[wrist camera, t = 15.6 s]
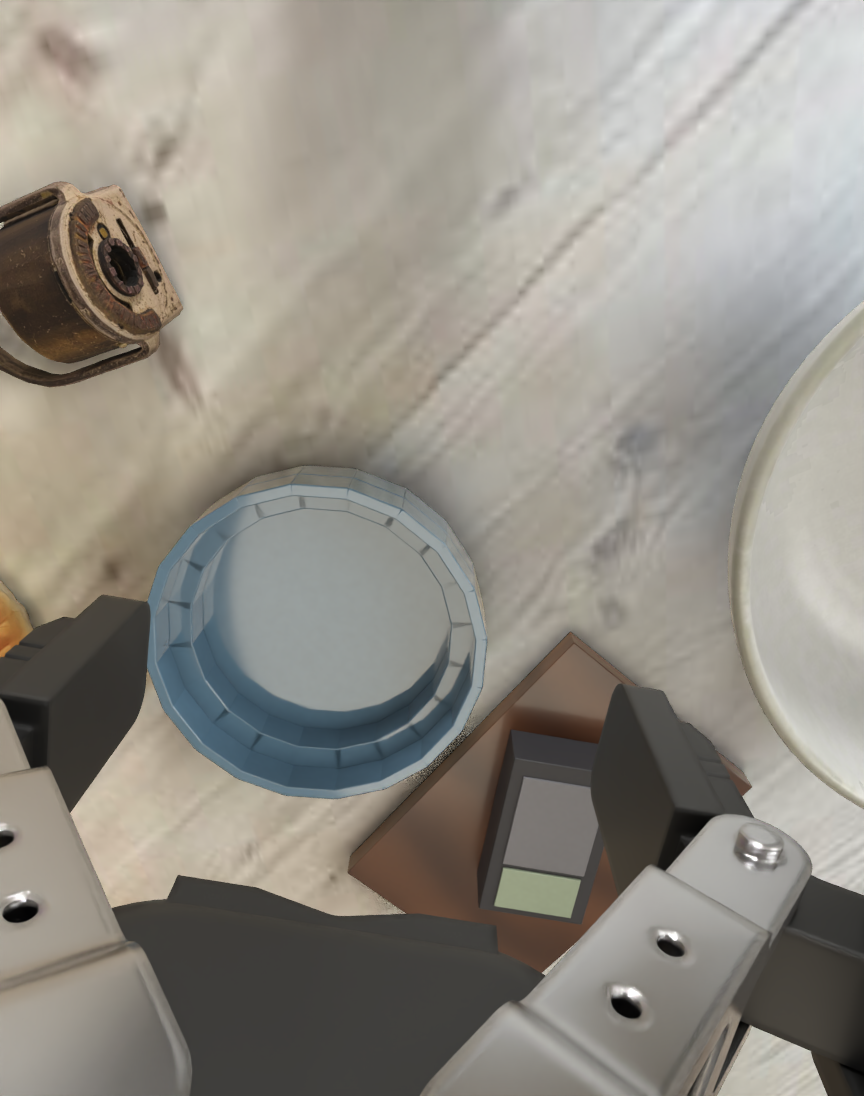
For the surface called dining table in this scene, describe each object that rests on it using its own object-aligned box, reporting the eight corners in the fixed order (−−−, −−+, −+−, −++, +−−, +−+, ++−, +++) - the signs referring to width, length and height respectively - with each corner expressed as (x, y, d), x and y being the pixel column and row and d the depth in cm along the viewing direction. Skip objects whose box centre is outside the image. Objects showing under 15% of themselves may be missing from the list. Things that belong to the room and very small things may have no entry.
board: (570, 631, 46) (574, 642, 45) (743, 772, 49) (752, 787, 47) (349, 856, 51) (346, 872, 50) (517, 973, 54) (519, 992, 52)
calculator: (510, 728, 47) (514, 759, 44) (614, 746, 47) (625, 777, 44) (476, 872, 50) (478, 910, 47) (574, 888, 50) (582, 927, 47)
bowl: (299, 395, 42) (280, 410, 38) (545, 597, 46) (557, 634, 41) (116, 629, 47) (78, 668, 42) (353, 799, 50) (343, 853, 45)
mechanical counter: (167, 432, 38) (137, 197, 33) (-128, 427, 37) (-206, 183, 32) (195, 379, 44) (174, 174, 39) (-56, 373, 43) (-112, 162, 38)
